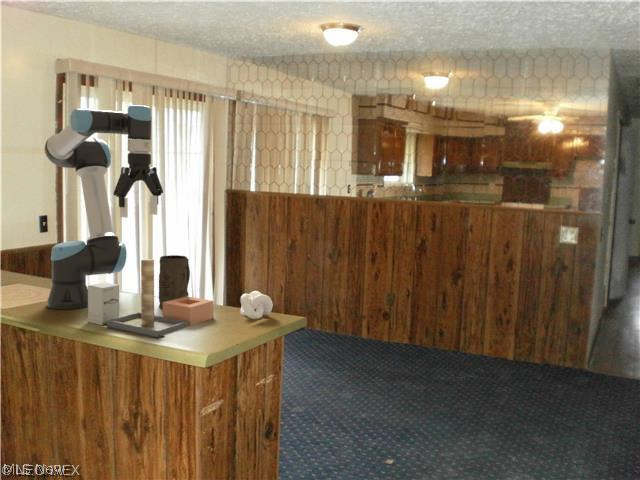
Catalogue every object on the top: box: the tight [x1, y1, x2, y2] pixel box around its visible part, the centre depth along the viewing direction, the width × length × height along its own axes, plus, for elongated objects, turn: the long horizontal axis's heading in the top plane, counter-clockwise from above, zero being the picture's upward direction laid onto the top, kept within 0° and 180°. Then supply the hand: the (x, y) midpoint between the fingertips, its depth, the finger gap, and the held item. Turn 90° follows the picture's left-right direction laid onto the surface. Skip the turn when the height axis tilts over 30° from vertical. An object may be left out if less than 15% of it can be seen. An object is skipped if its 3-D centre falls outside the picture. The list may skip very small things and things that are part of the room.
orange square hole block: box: [162, 295, 215, 326], centre depth 216 cm, size 12×12×7 cm
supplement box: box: [87, 282, 120, 326], centre depth 213 cm, size 7×7×13 cm
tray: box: [106, 311, 189, 340], centre depth 207 cm, size 22×14×2 cm, turn 61°
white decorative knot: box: [240, 290, 274, 320], centre depth 223 cm, size 11×12×9 cm
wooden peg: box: [140, 258, 155, 328], centre depth 205 cm, size 4×4×22 cm
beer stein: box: [158, 254, 191, 310], centre depth 235 cm, size 15×11×20 cm
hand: (139, 215), depth 215 cm, fingers open, 13 cm apart
